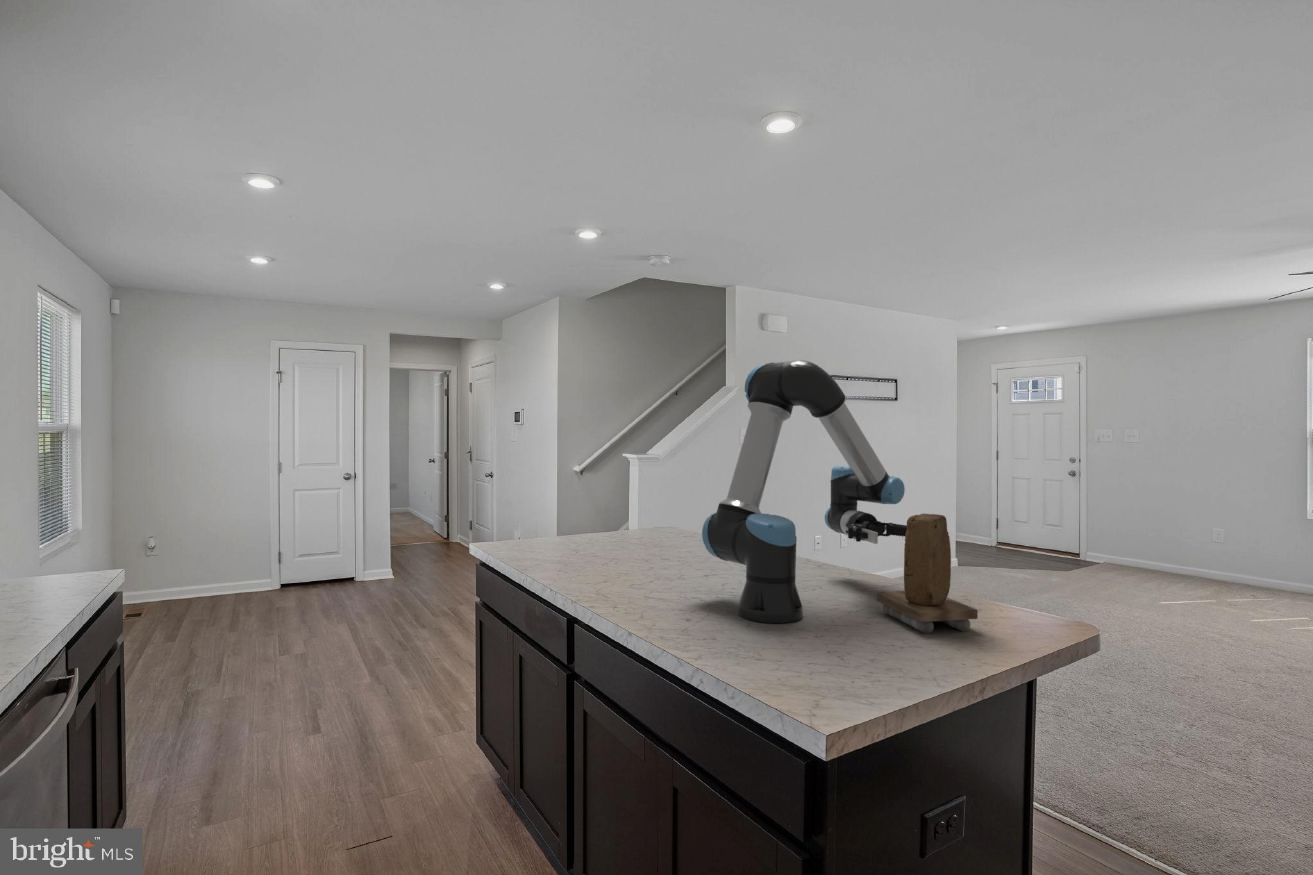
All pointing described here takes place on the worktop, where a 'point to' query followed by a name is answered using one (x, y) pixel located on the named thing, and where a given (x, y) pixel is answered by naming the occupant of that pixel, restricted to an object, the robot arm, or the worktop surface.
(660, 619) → the worktop surface
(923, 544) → the block
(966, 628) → the slab
